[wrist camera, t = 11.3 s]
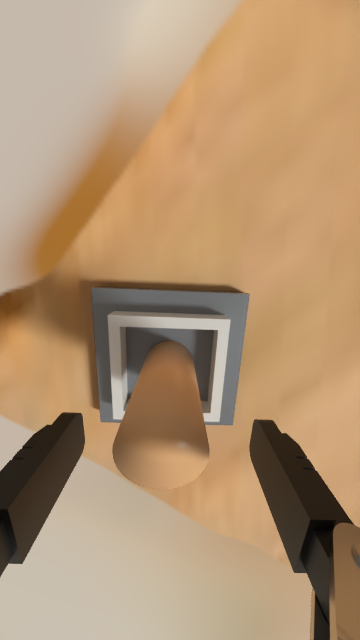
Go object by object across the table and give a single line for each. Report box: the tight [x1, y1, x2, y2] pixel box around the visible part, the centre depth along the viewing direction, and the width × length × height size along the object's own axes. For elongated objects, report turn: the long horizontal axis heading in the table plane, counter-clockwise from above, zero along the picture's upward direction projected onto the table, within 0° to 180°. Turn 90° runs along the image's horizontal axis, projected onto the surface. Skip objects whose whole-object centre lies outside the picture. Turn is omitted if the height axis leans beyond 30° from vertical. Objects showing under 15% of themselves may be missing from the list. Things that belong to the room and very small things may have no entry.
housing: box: [91, 287, 250, 425], centre depth 15 cm, size 12×12×3 cm
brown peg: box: [113, 341, 209, 490], centre depth 12 cm, size 4×4×8 cm
